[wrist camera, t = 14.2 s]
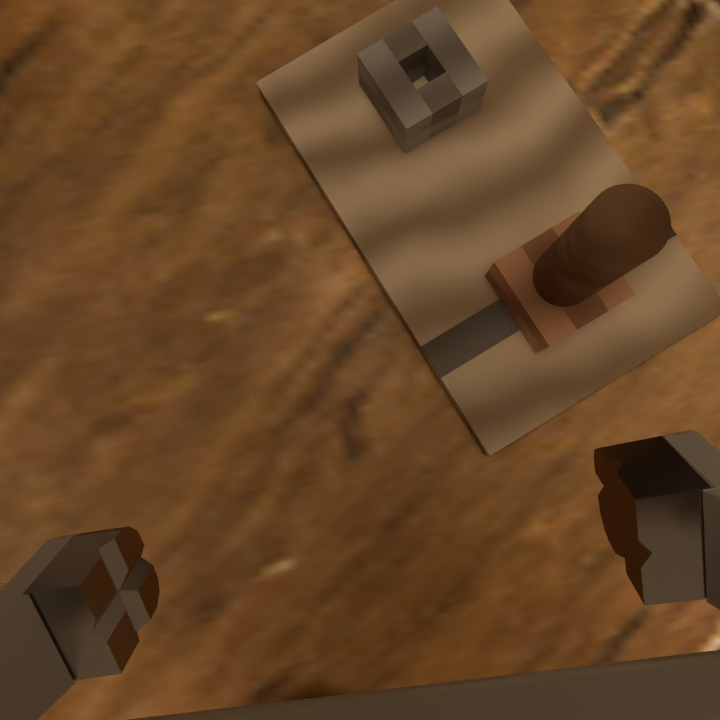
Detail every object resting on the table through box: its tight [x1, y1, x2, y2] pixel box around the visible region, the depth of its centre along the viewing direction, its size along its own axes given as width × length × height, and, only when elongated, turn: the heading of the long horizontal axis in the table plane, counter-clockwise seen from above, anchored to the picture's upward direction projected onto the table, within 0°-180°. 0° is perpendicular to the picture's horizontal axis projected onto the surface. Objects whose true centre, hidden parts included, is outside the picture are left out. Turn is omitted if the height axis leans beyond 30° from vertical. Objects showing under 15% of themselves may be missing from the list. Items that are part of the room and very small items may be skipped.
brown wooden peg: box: [533, 184, 671, 307], centre depth 30 cm, size 4×4×12 cm
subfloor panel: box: [256, 0, 720, 456], centre depth 37 cm, size 30×18×5 cm, turn 31°
